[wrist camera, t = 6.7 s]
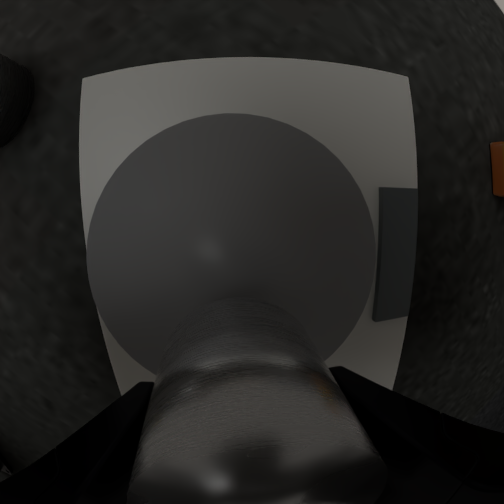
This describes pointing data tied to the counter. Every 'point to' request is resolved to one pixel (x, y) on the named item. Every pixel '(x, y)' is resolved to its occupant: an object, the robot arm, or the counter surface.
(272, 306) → the spacer
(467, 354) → the counter surface
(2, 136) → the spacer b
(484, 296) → the counter surface
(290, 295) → the scale
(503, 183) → the supplement box
